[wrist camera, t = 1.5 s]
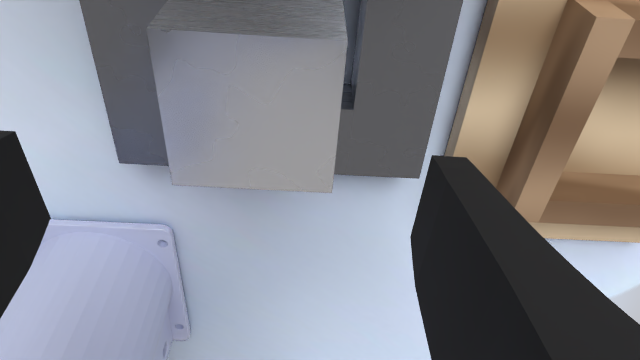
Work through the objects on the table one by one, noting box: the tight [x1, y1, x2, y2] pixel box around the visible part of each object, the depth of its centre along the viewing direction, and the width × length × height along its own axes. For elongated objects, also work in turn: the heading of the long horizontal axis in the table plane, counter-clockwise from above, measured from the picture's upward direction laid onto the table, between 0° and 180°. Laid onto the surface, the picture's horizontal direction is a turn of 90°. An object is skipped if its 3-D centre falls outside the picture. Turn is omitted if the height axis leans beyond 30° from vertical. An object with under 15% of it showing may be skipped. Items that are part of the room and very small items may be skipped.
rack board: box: [444, 0, 640, 243], centre depth 17 cm, size 18×11×3 cm, turn 176°
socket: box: [80, 0, 463, 178], centre depth 16 cm, size 12×12×2 cm
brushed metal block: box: [146, 0, 348, 193], centre depth 14 cm, size 4×4×8 cm
